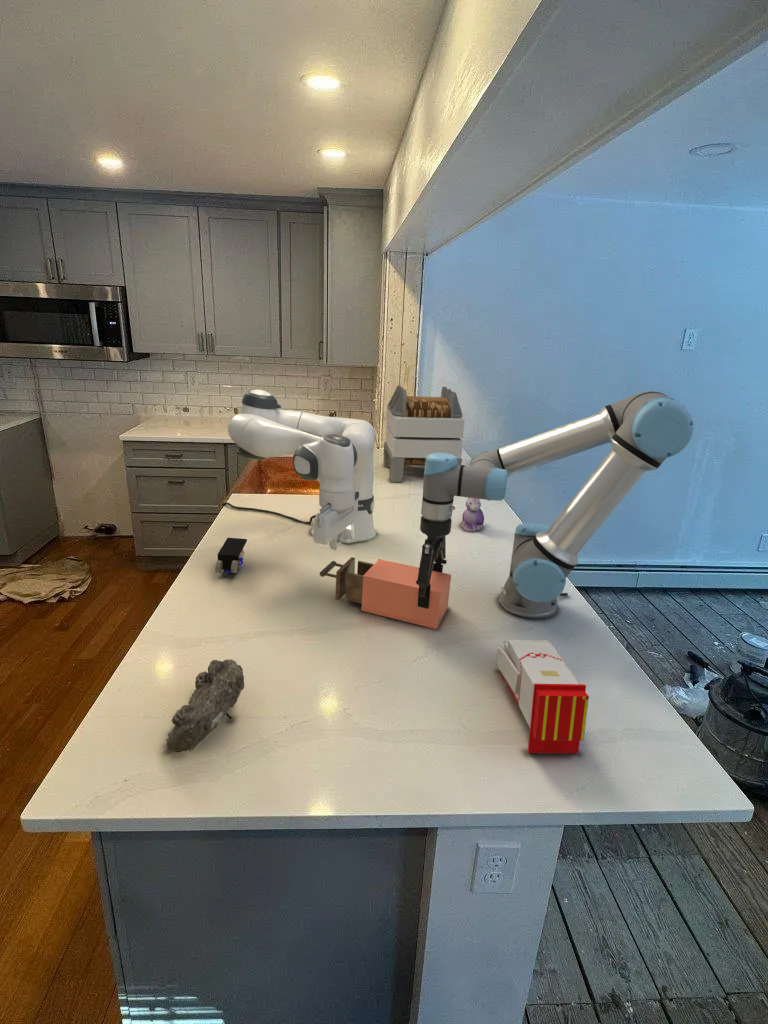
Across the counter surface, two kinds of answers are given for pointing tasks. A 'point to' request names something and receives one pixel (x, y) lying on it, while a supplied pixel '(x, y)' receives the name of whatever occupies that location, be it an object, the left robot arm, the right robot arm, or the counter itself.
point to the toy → (545, 695)
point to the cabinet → (404, 593)
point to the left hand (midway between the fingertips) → (335, 547)
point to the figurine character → (230, 556)
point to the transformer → (421, 429)
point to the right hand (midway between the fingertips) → (429, 596)
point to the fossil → (206, 705)
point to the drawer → (348, 579)
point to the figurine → (472, 515)
